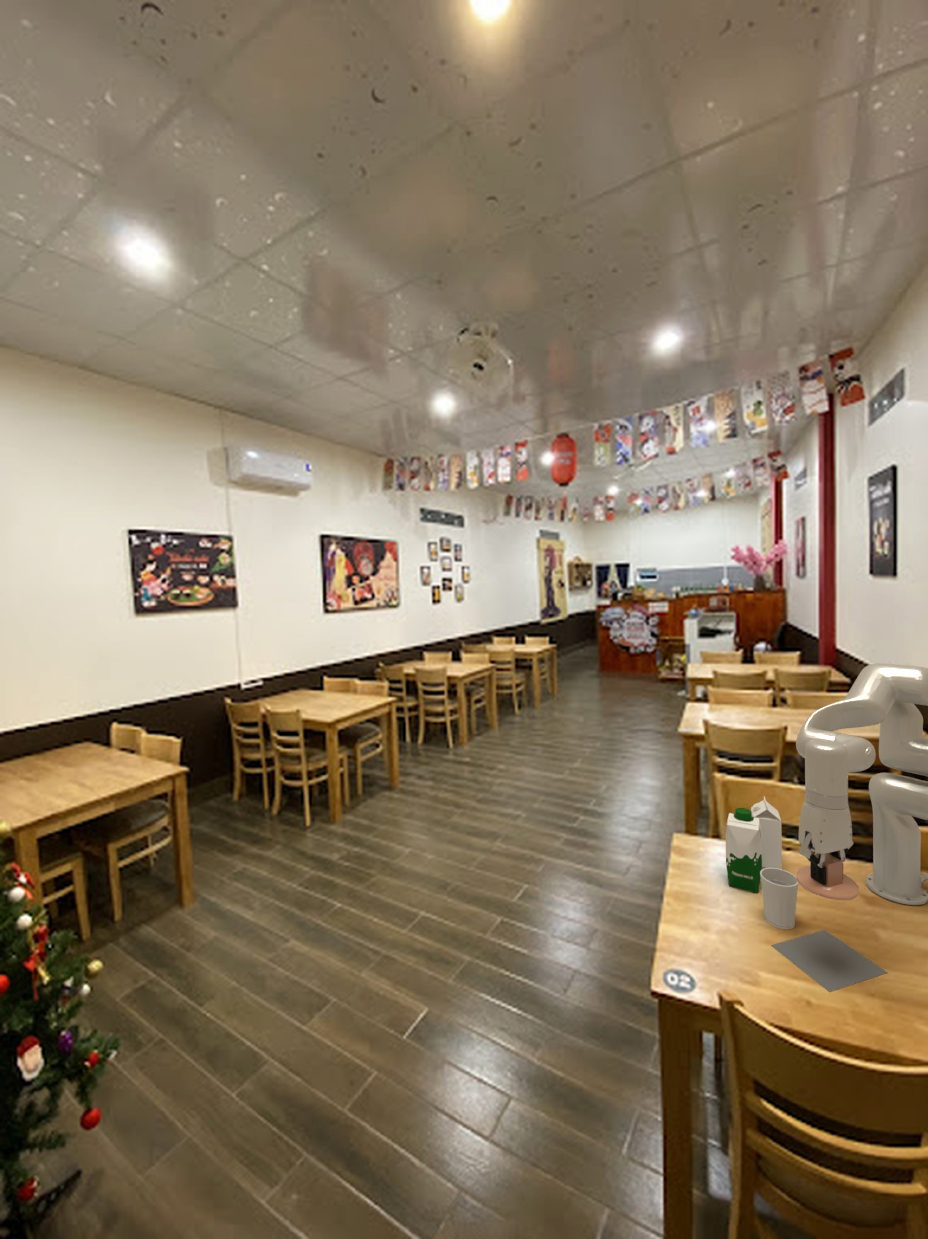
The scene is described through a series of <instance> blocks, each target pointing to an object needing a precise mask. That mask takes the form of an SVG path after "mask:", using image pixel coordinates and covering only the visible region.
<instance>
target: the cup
mask: <svg viewBox="0 0 928 1239" xmlns="http://www.w3.org/2000/svg"><path fill="white" fill-rule="evenodd" d="M760 876H761V879H760V886H761V891H762V901H763V912H764V915H763V916H764V920H765V921H766V922H767V923H768V924H769V925H771V926H773V927H775V928H778V929H781V930H791V929H793V928H795V924H796V922H795V921H796V912H797V911H796V910H797V898H798V891H799V883H798V881H797V875H794V873H791V872H790V871H787V870H785V869H783V868H782V869H778V868H762V870H761V871H760Z"/></svg>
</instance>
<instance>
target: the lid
mask: <svg viewBox="0 0 928 1239" xmlns="http://www.w3.org/2000/svg"><path fill="white" fill-rule="evenodd" d="M815 856H816V857H817V858H818V856H819V854H817V853H815ZM824 867H826V885H822V884H820V883H819V882H817V881H815V880H814V879H812V878H811V871H810V865H808V866H803V867H800V868H798V869H797V870H796V877H797V881H798V885H800V886H801V887H802V888H803V889H805V890H807V891H808V892H810V893H812V894H814V895H816V896H819V897H822V898H825V899H829V900H835V901H850V900H854V899H856V898H857V897H858V896H859V885H858V884H857V882H856V881H855V880H854V879H853V878H851V877H850V876H848V875H847V874H844V862H843V861H841V860H839V859H837V858H835V857H833V856H832V855H830V854H829V853H826V854H825V861H824Z"/></svg>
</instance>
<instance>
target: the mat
mask: <svg viewBox="0 0 928 1239" xmlns="http://www.w3.org/2000/svg"><path fill="white" fill-rule="evenodd" d="M770 946H771V947H772V948H774V949H775V950H776V951H777V952H778V953H780V954H781V955H782V956H783V957H785V958H786V959H787V960H788V961H790V963H792V964H793V965H795V966H796V967H797V968H798V969H800V971H802V972H803V973H805V974H806V975H807V976H808V977H810V978H811V979H812V980H814V981H815V982H816V983H818V984H819V985H820V987H822V988H824V989H825V990H826V991H828V992H829V993H832V992H835V991H837V990H841V989H843V988H846V987H849V986H853V985H855V984H858V983H861V982H864V981H867V980H871V979H873V978H877V977H879V976H882V975H883V976H884V975H886V974H888V973H889V972H888V971H886V970H885V969H884V968H882V967H881V966H879V965H878V964H876V963H875V962H873V961H872V960H870V959H869V958H867V957H866V956H864V955H863V954H862V953H860V952H858V951H857V950H855V949H854V948H853V947H851V946H849V945H848V944H847V943H845V942H843V941H842V940H840V939H839V938H838V937H836V936H835V935H833V934H832V933H831V932H828V930H826V929H822V930H818V931H816V932H811V933H808V934H805V935H801V936H798V937H795V938H791V939H788V940H784V941H781V942H777V943H775V944H774V943H773V944H771V945H770Z"/></svg>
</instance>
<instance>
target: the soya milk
mask: <svg viewBox="0 0 928 1239" xmlns="http://www.w3.org/2000/svg"><path fill="white" fill-rule="evenodd" d="M734 811H735V812H734V813H732V812H729V813H728V817H727V821H726V823H725V827H726V828H725V831H724V832H725V865H726V866H725V867H726V873H727V879H728V885H729V886H728V887H731V888H736V889H740V890H744V891H747V892H752V893H756V894H758V893H759V889H760V886H761V876H760V871H761V870H762V869H763V867H762V835H761V825H760V820H759V818H754V817H752V812H751V809H748V808H745V807H737V808H735V810H734Z"/></svg>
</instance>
